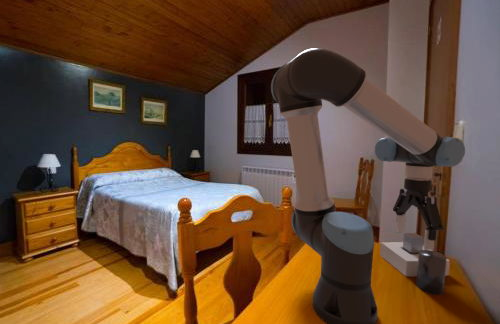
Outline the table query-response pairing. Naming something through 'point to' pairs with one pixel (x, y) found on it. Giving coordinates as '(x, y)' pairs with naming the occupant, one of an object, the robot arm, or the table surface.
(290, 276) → the table surface
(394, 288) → the table surface
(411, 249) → the square bit
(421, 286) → the cylinder
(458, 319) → the table surface
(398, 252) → the socket block
